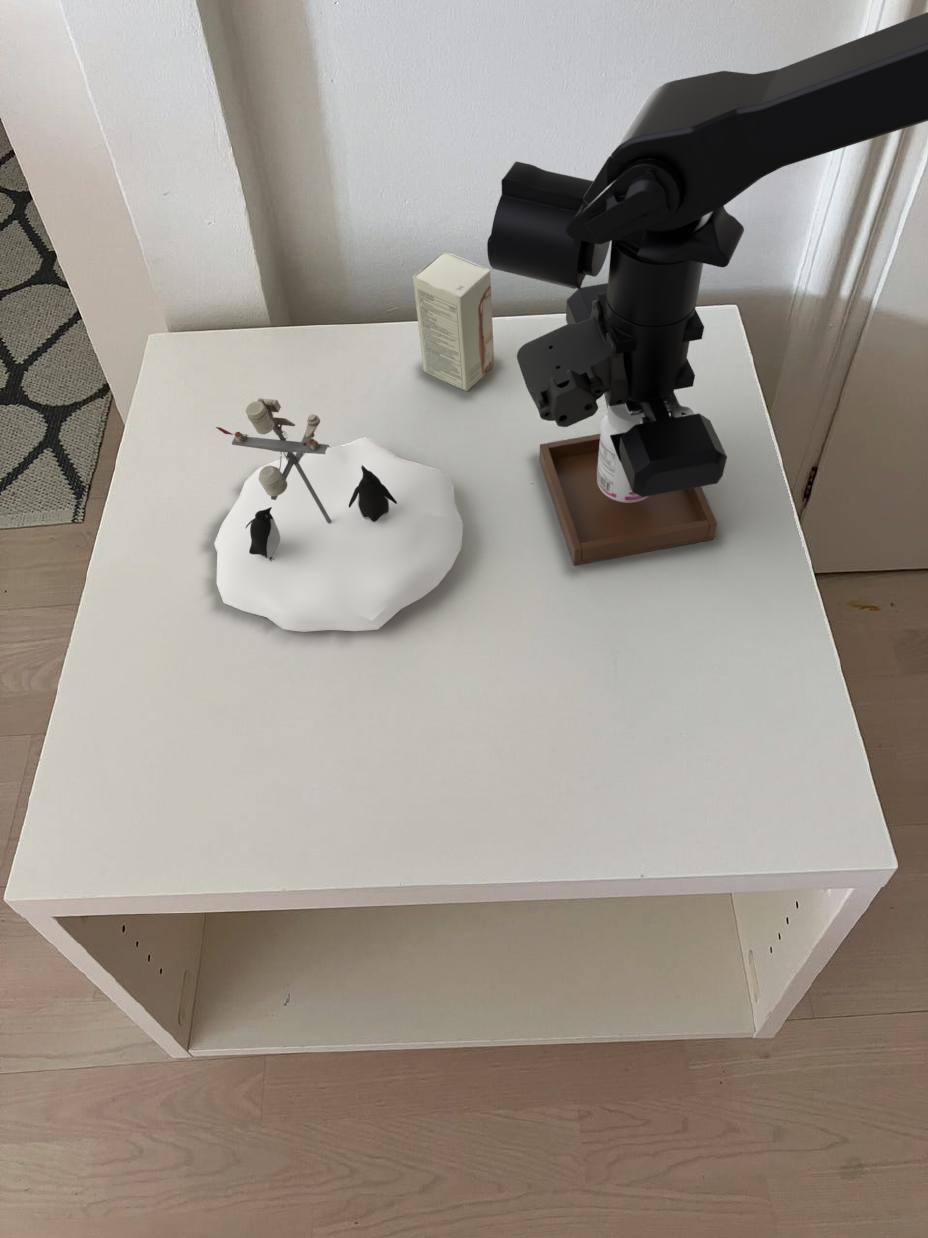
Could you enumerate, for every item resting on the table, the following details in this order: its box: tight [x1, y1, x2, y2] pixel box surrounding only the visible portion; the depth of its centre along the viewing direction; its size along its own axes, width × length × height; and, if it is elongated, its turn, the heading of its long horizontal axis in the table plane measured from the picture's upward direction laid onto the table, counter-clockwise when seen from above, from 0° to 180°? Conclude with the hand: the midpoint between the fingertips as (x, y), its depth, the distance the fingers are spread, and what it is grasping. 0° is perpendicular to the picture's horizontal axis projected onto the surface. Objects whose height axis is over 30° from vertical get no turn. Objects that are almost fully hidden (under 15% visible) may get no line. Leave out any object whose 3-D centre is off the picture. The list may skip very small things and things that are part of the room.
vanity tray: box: [538, 433, 718, 566], centre depth 81 cm, size 11×11×2 cm
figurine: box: [213, 397, 464, 633], centre depth 74 cm, size 20×18×16 cm
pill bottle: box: [597, 404, 649, 503], centre depth 76 cm, size 5×5×8 cm
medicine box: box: [412, 250, 495, 392], centre depth 87 cm, size 5×4×10 cm
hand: (629, 463), depth 78 cm, fingers closed on pill bottle, 5 cm apart
